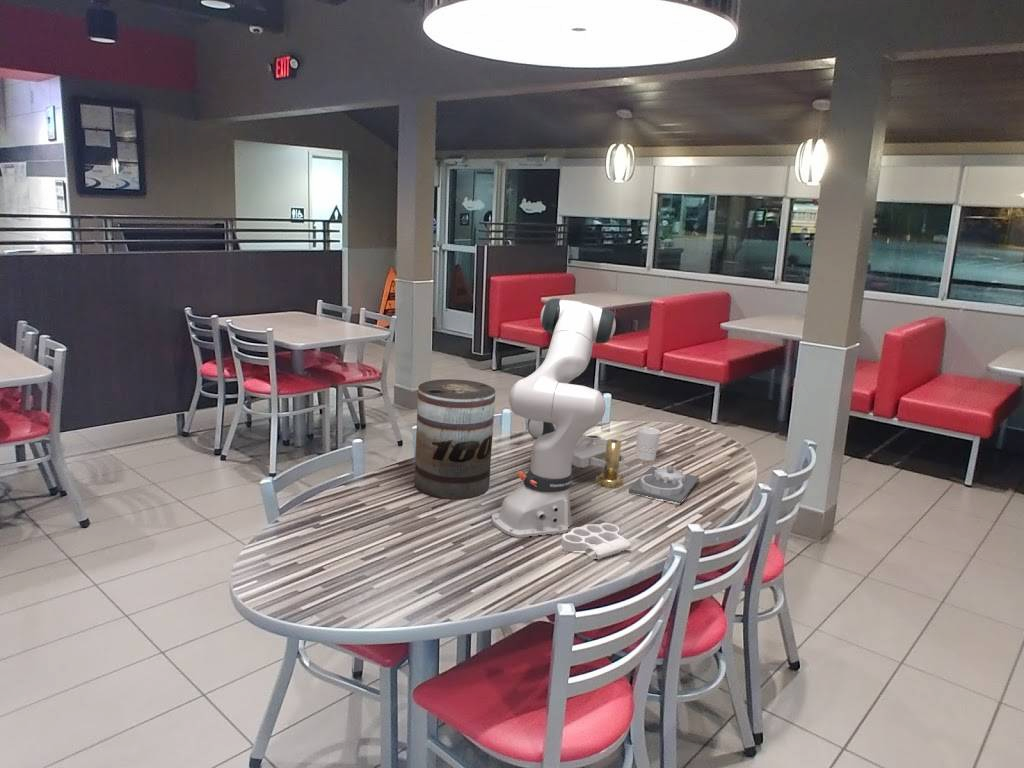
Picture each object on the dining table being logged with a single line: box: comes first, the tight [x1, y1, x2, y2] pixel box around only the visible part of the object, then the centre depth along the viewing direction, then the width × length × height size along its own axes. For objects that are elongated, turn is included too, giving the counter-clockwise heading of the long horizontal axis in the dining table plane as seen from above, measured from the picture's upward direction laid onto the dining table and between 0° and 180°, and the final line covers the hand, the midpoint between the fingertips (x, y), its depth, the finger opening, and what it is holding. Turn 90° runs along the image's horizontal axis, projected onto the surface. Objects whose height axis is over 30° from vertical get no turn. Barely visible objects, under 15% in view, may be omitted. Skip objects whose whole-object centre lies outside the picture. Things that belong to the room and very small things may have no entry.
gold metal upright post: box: [595, 438, 625, 489], centre depth 236 cm, size 9×9×14 cm
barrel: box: [413, 378, 497, 501], centre depth 224 cm, size 22×22×30 cm
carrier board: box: [628, 465, 700, 503], centre depth 238 cm, size 24×16×6 cm, turn 153°
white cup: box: [635, 426, 661, 462], centre depth 264 cm, size 8×8×10 cm
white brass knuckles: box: [560, 522, 632, 560], centre depth 195 cm, size 3×18×15 cm
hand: (614, 461), depth 236 cm, fingers open, 7 cm apart
